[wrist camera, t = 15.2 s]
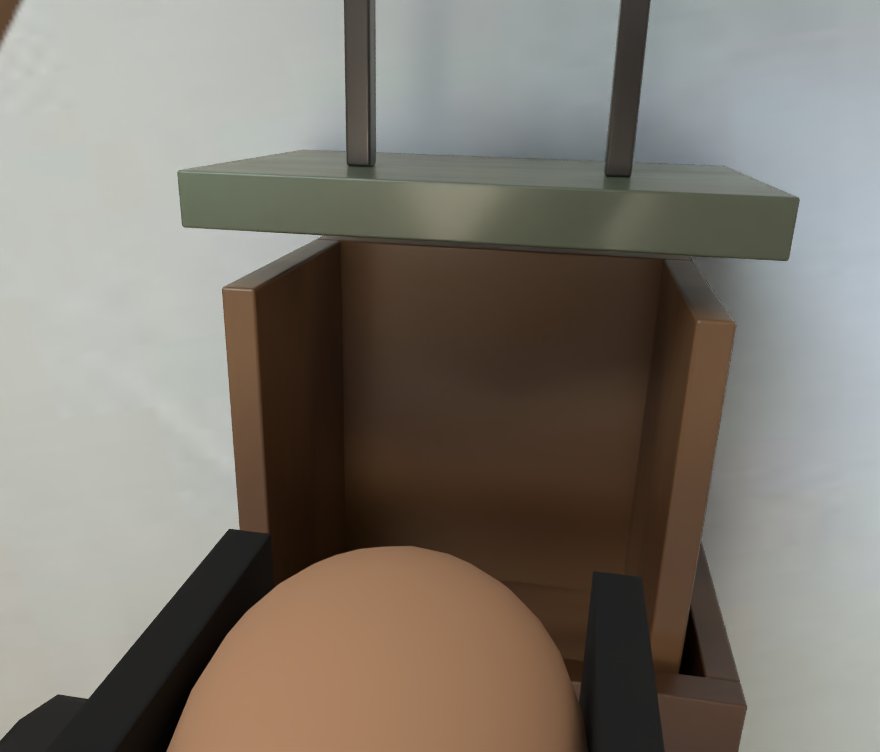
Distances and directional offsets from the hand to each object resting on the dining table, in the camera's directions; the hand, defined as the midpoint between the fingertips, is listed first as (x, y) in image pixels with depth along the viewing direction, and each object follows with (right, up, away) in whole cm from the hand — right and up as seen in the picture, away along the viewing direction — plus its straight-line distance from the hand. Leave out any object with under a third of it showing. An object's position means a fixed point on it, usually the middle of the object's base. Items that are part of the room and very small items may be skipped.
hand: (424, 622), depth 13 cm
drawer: (+2, +6, +11) cm, 13 cm away
